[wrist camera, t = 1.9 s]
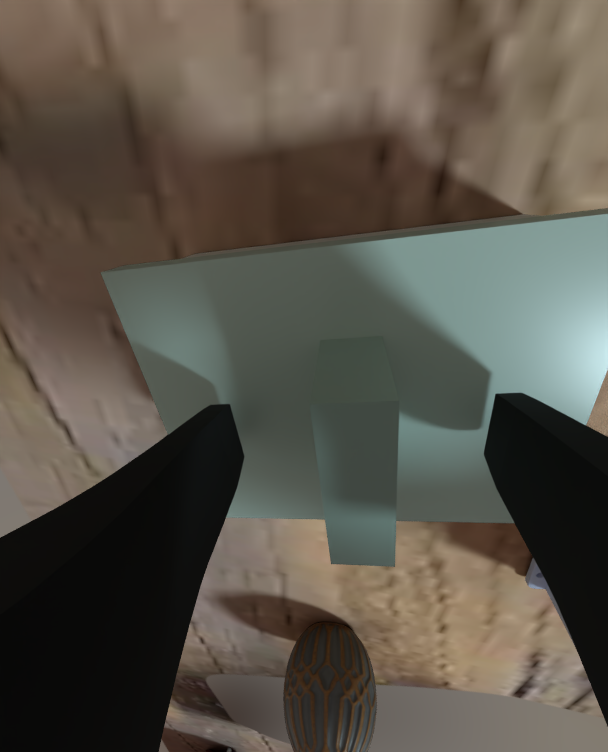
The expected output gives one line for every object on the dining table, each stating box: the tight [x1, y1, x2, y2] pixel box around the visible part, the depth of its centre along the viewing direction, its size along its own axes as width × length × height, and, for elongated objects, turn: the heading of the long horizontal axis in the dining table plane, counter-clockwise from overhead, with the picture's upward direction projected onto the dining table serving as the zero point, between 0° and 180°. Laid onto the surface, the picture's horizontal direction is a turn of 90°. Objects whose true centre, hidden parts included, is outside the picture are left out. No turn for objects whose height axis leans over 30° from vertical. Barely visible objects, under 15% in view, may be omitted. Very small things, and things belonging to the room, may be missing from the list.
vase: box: [283, 622, 377, 752], centre depth 23 cm, size 7×7×9 cm
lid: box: [101, 208, 608, 567], centre depth 9 cm, size 10×13×5 cm
